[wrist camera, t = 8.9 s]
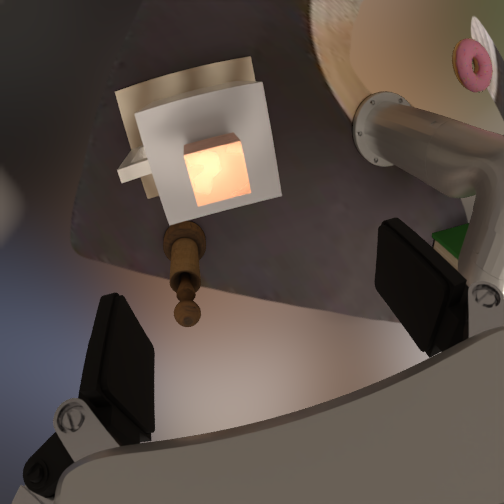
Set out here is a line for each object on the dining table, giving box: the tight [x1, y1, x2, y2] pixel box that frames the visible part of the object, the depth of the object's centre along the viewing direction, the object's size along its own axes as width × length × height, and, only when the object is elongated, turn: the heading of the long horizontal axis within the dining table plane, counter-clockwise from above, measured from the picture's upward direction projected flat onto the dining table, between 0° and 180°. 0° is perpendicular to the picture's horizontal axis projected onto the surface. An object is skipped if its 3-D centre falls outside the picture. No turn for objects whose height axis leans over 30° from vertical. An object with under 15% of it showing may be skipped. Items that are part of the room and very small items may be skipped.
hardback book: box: [432, 223, 469, 271], centre depth 51 cm, size 18×7×24 cm, turn 97°
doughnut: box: [452, 38, 492, 92], centre depth 37 cm, size 11×11×4 cm
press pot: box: [117, 81, 282, 225], centre depth 32 cm, size 15×11×15 cm
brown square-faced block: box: [184, 132, 251, 207], centre depth 29 cm, size 8×8×19 cm
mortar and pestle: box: [163, 221, 206, 327], centre depth 40 cm, size 7×6×18 cm
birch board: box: [115, 56, 255, 199], centre depth 38 cm, size 18×16×1 cm
